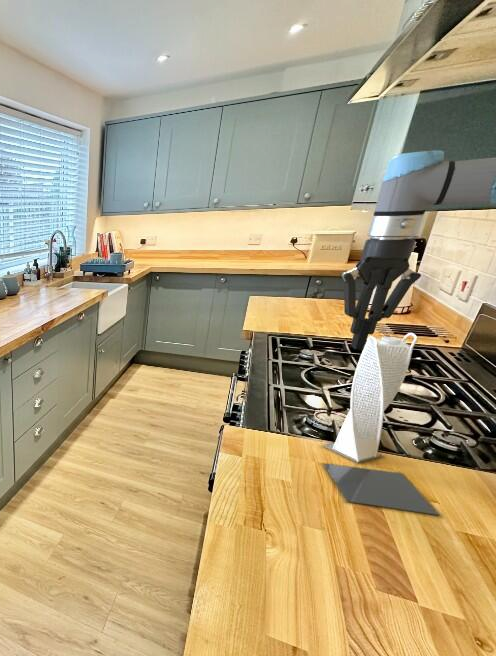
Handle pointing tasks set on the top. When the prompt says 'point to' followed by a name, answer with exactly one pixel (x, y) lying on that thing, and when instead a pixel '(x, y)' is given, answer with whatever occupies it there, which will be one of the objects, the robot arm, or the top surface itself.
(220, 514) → the top surface
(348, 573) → the top surface
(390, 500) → the slate pad
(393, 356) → the skyscraper
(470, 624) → the top surface
